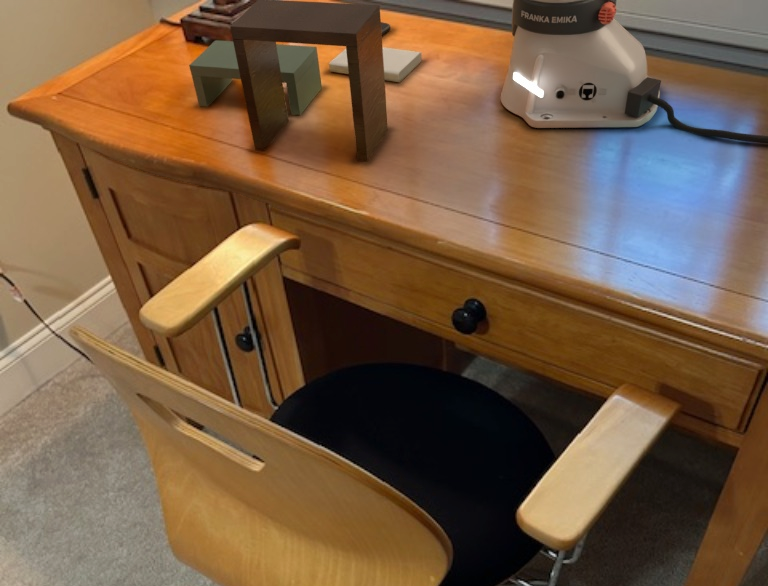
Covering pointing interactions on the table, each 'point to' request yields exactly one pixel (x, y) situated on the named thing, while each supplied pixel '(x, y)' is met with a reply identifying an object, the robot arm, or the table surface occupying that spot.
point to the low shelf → (222, 67)
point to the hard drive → (393, 59)
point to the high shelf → (321, 27)
